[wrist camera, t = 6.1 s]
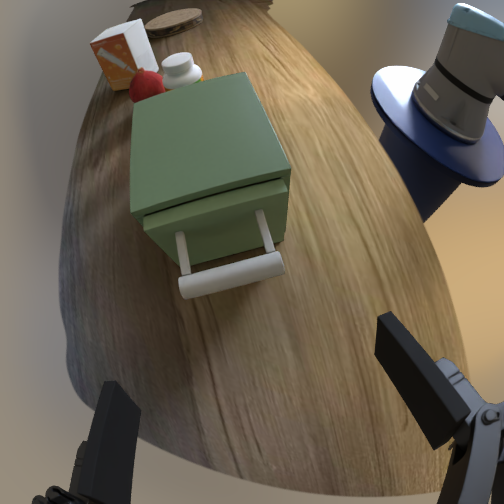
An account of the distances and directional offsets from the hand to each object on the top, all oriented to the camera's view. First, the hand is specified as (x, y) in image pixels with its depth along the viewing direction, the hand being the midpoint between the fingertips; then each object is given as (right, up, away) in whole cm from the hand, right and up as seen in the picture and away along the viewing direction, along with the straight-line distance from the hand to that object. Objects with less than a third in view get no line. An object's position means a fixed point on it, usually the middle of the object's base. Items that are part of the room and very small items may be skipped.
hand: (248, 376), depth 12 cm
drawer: (-3, +9, +16) cm, 18 cm away
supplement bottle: (-9, +27, +24) cm, 37 cm away
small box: (-22, +39, +30) cm, 54 cm away
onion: (-16, +30, +26) cm, 42 cm away
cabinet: (-4, +12, +18) cm, 22 cm away
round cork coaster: (-21, +68, +40) cm, 82 cm away
